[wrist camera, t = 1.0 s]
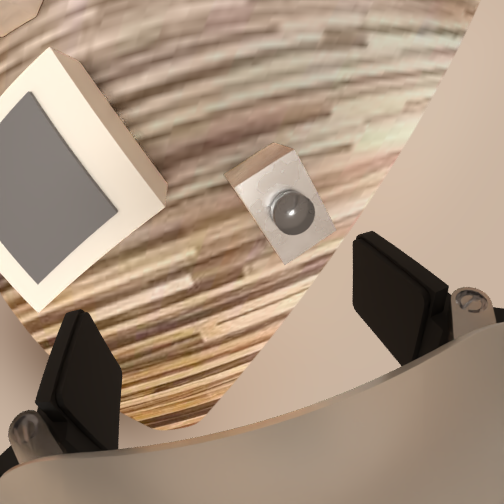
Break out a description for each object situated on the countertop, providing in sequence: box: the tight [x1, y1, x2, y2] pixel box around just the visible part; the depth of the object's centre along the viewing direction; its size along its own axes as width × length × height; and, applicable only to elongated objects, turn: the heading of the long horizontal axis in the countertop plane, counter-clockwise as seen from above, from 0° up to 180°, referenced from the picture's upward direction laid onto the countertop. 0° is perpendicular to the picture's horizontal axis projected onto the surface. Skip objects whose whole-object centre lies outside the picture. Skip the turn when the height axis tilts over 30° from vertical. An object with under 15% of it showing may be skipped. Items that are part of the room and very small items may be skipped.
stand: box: [0, 47, 168, 313], centre depth 22 cm, size 16×16×9 cm
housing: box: [224, 142, 336, 265], centre depth 29 cm, size 6×9×7 cm, turn 31°
